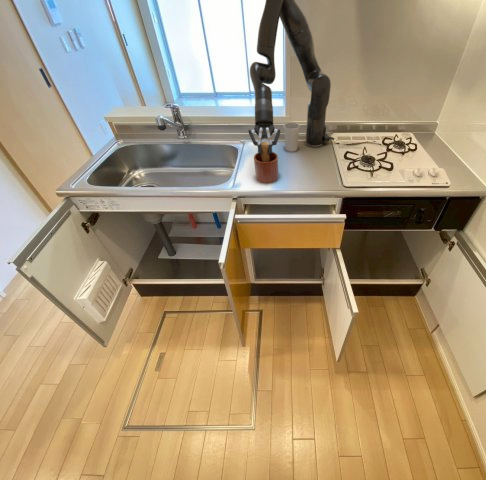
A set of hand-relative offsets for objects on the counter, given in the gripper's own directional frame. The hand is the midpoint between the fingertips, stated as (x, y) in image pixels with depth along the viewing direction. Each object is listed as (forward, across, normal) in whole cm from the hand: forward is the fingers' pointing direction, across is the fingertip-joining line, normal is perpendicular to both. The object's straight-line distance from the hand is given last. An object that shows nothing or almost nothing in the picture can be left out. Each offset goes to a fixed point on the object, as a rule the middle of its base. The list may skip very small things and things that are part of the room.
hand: (265, 154), depth 110 cm
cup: (-11, +13, +29) cm, 33 cm away
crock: (+7, 0, +10) cm, 12 cm away
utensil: (+4, 0, +7) cm, 8 cm away
